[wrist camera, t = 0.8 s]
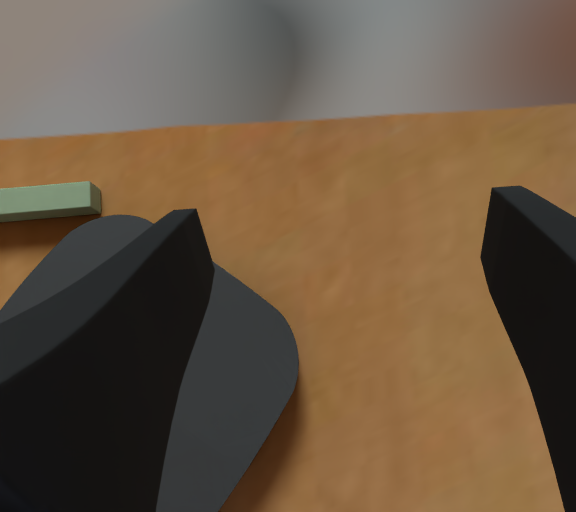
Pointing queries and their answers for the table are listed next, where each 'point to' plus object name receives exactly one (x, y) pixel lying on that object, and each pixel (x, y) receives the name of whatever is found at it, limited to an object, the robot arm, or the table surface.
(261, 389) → the media streaming box
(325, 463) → the table surface
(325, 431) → the table surface
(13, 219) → the sage u-shaped rail
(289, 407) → the table surface
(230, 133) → the table surface
